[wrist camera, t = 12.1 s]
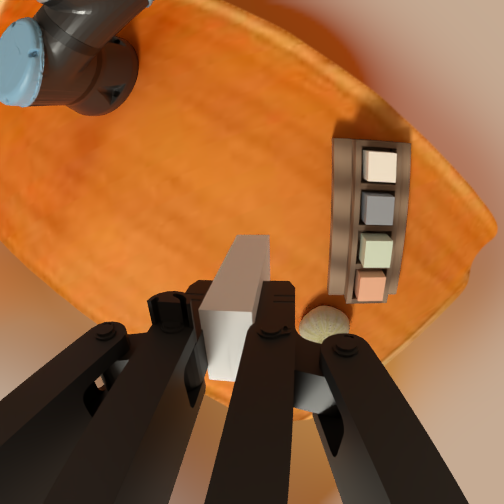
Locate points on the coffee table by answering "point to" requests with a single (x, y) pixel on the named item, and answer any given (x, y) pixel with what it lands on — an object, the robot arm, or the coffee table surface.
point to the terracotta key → (369, 284)
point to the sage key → (375, 250)
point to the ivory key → (379, 166)
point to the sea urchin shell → (323, 323)
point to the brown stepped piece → (349, 213)
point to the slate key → (377, 208)
